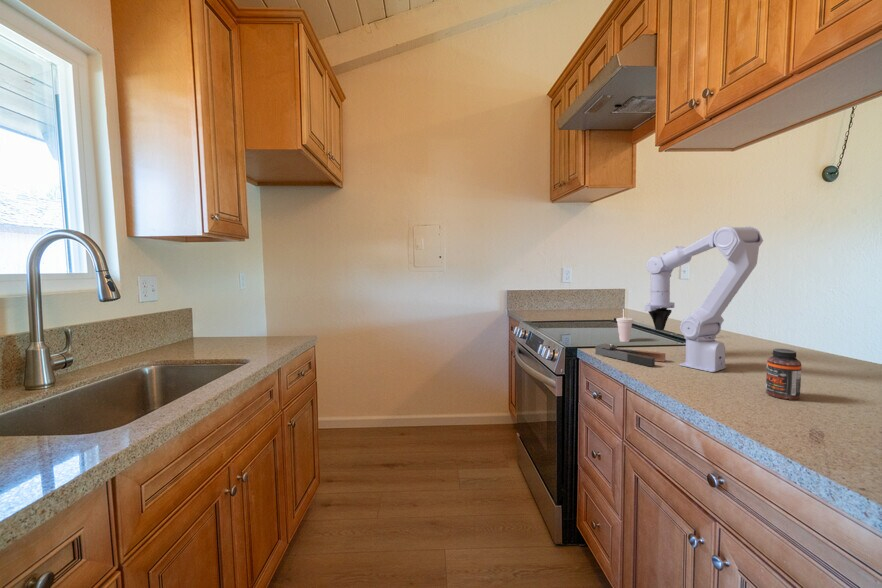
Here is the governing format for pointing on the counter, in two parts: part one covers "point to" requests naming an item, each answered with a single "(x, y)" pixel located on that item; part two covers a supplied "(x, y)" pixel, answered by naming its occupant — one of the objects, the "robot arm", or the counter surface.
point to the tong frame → (623, 355)
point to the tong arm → (645, 353)
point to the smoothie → (624, 328)
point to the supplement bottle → (783, 375)
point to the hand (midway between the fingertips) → (659, 329)
